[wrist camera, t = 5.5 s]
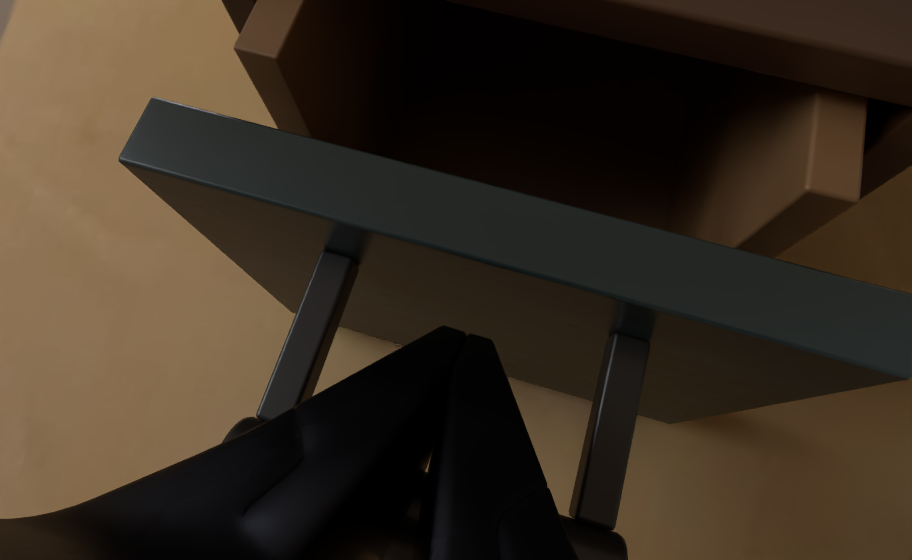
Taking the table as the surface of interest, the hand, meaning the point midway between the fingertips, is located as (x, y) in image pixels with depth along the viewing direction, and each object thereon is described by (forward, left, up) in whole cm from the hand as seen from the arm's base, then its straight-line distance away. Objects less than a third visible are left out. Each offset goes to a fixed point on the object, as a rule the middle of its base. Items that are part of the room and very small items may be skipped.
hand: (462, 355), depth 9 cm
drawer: (+6, -1, -7) cm, 9 cm away
